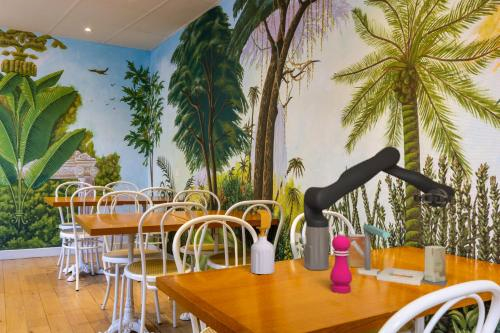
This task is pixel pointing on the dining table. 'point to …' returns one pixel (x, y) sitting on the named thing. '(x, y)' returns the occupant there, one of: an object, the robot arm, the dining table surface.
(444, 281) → the coaster
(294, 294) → the dining table surface
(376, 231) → the swing bar
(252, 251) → the soap bottle
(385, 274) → the holder
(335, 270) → the pepper mill
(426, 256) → the skincare box
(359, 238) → the small box
